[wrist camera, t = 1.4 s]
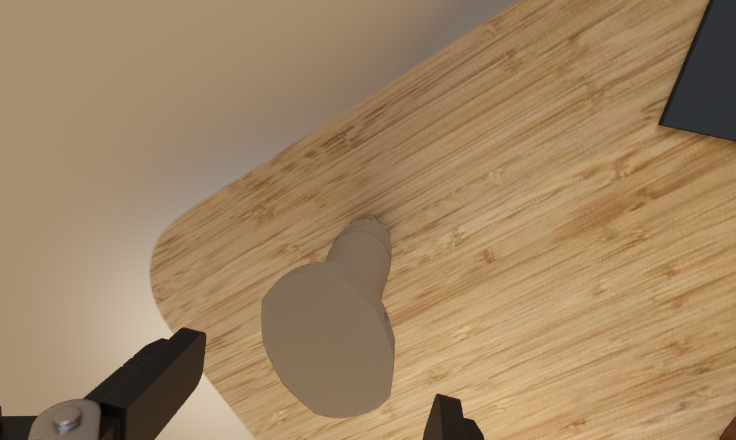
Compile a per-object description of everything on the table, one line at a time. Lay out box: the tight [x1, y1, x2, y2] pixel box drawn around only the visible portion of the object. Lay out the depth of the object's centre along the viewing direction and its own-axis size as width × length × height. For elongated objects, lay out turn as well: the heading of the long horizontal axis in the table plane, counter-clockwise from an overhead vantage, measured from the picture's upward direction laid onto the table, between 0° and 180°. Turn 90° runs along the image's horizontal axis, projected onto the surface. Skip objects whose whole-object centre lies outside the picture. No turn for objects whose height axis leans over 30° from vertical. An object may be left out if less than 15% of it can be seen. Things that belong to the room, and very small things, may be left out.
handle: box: [262, 215, 395, 418], centre depth 22 cm, size 5×6×15 cm
